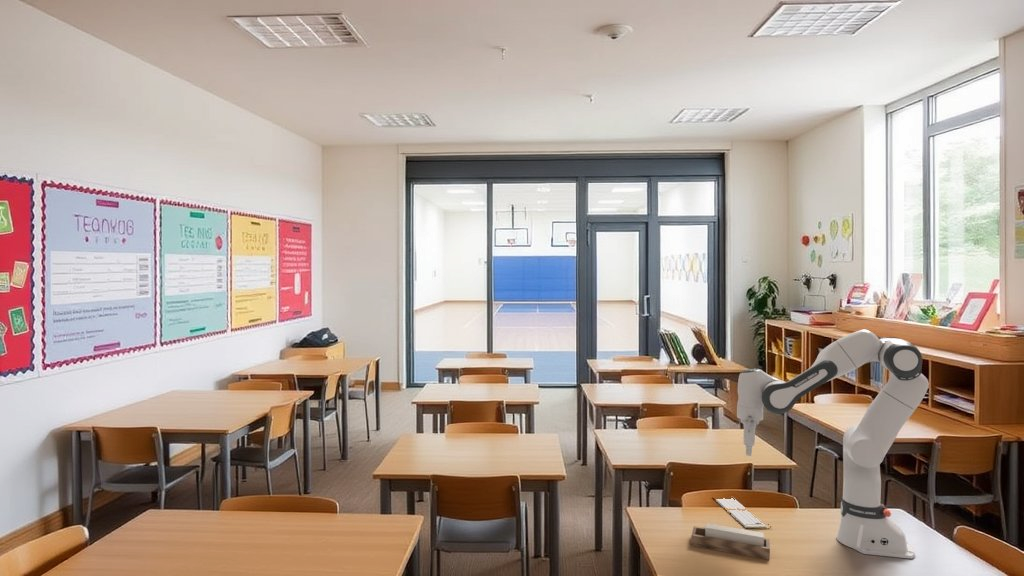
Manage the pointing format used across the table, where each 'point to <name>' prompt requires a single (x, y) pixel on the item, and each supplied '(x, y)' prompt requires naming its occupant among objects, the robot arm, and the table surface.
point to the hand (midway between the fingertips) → (748, 451)
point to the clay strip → (734, 534)
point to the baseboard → (741, 513)
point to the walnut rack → (729, 545)
